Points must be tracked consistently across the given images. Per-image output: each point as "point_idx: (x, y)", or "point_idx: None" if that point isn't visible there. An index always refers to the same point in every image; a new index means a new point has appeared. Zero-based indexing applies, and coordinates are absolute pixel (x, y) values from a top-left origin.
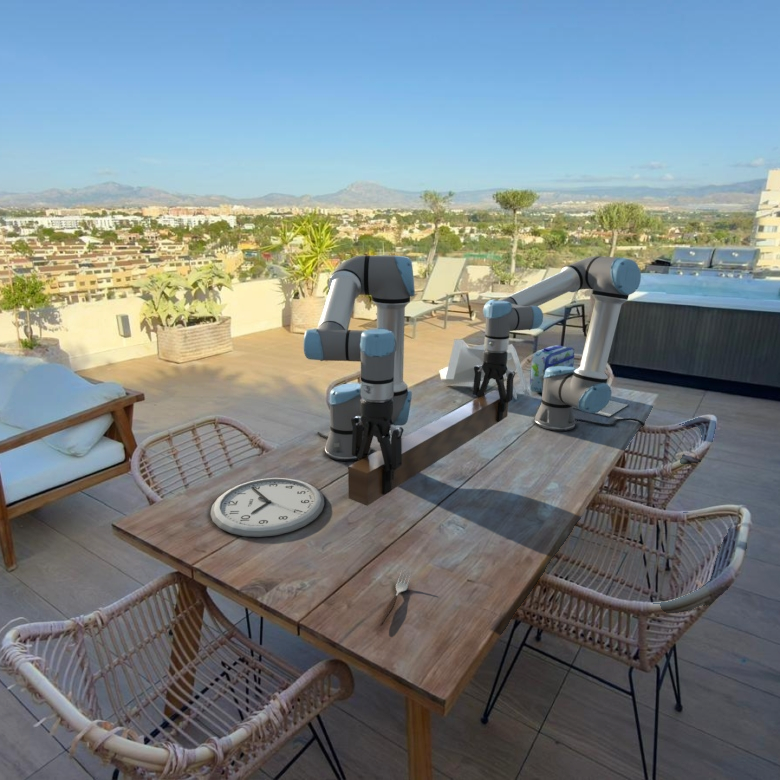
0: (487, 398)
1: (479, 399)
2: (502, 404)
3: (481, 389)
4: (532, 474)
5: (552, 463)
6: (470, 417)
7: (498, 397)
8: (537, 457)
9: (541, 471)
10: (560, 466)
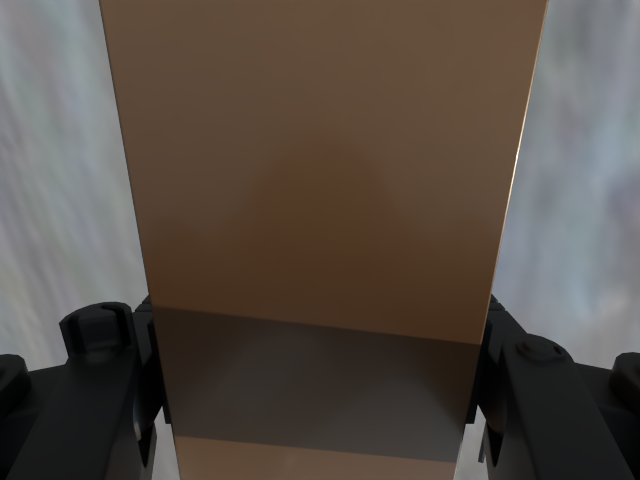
0: (339, 288)
1: (454, 125)
2: (139, 337)
3: (588, 477)
4: (47, 107)
5: (59, 269)
6: None
7: (216, 436)
8: (136, 286)
9: (41, 165)
10: (20, 262)
